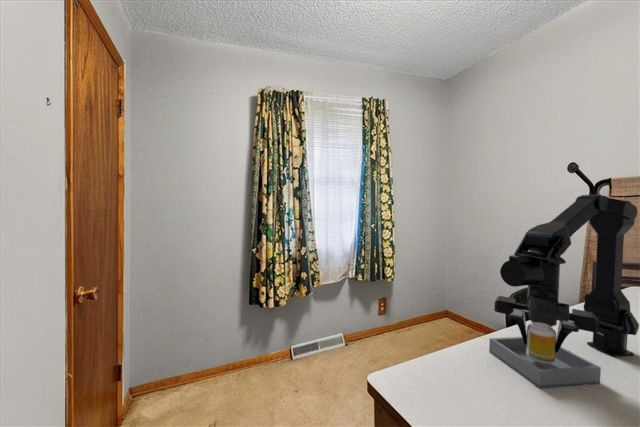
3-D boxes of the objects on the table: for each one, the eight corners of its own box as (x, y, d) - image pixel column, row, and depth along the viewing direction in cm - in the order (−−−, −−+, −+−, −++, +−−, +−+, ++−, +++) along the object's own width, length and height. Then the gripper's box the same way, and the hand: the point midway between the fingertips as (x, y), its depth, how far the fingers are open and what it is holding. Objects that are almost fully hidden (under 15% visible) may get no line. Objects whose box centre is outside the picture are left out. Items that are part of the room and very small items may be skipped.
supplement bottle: (560, 366, 64) (562, 323, 64) (533, 363, 65) (535, 321, 65) (546, 353, 69) (548, 314, 69) (521, 351, 70) (523, 312, 70)
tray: (539, 349, 75) (539, 335, 75) (599, 383, 61) (600, 367, 61) (489, 351, 74) (489, 338, 73) (539, 388, 59) (540, 371, 59)
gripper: (492, 283, 66) (490, 348, 66) (605, 300, 54) (601, 379, 55) (498, 273, 75) (495, 331, 75) (596, 287, 63) (592, 355, 64)
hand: (540, 347), depth 67 cm, fingers closed on supplement bottle, 5 cm apart
